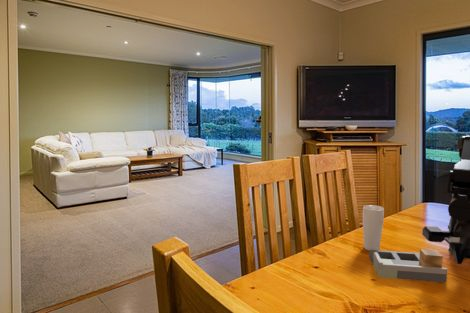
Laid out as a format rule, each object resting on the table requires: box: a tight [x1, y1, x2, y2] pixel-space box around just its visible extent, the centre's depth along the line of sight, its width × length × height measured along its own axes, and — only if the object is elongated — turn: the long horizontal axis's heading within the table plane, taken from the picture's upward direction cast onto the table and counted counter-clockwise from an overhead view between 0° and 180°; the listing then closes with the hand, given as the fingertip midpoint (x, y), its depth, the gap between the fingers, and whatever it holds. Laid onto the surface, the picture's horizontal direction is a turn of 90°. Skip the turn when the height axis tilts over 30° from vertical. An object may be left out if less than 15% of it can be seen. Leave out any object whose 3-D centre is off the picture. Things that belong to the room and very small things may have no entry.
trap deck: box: [368, 249, 448, 283], centre depth 103 cm, size 18×14×4 cm
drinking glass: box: [362, 204, 385, 252], centre depth 117 cm, size 7×7×15 cm
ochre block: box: [419, 248, 443, 268], centre depth 99 cm, size 4×4×4 cm
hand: (458, 263), depth 97 cm, fingers closed
